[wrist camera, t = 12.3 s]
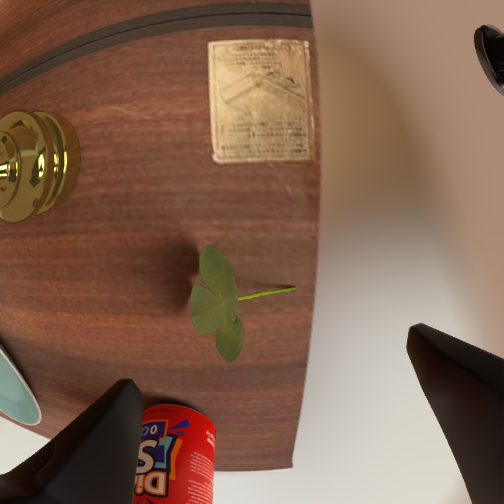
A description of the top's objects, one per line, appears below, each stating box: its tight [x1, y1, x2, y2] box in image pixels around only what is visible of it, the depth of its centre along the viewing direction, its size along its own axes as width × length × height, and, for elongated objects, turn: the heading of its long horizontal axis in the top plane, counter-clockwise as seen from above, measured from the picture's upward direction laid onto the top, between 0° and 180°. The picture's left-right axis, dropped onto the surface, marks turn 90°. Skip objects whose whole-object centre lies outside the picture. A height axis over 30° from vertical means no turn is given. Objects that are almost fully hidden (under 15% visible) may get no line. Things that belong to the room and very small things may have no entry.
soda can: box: [133, 404, 216, 504], centre depth 18 cm, size 8×8×15 cm
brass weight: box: [0, 109, 81, 224], centre depth 11 cm, size 7×7×10 cm
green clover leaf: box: [190, 245, 296, 362], centre depth 18 cm, size 7×8×7 cm
